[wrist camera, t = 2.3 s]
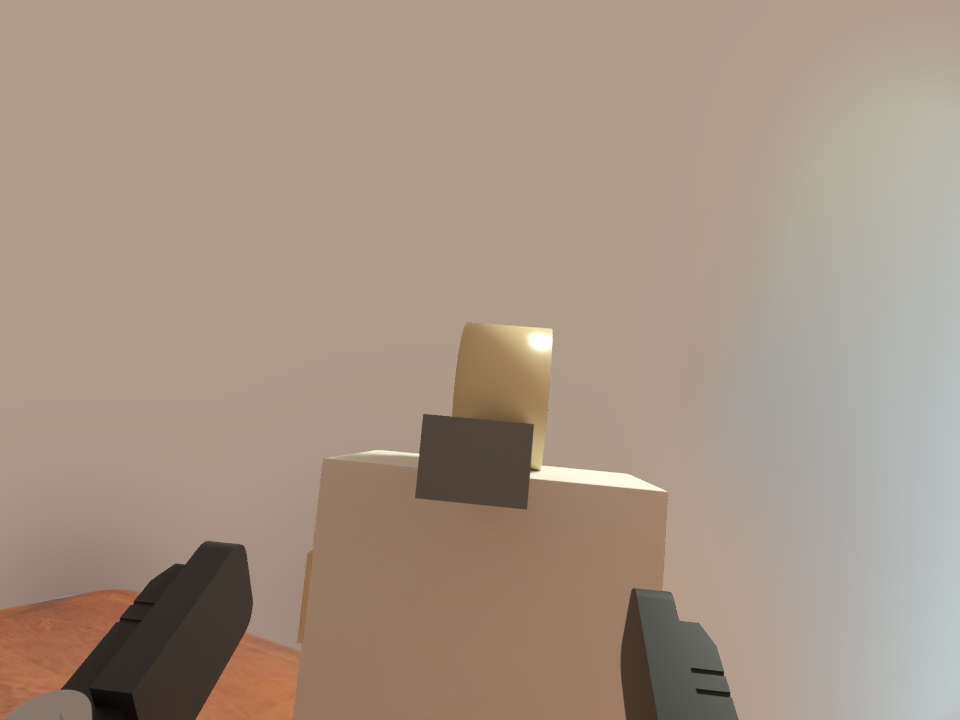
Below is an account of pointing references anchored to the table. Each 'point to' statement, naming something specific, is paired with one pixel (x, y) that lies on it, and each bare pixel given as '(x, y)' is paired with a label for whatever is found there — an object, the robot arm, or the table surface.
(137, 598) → the robot arm
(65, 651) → the table surface
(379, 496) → the tall box
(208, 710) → the table surface
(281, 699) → the table surface
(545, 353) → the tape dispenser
